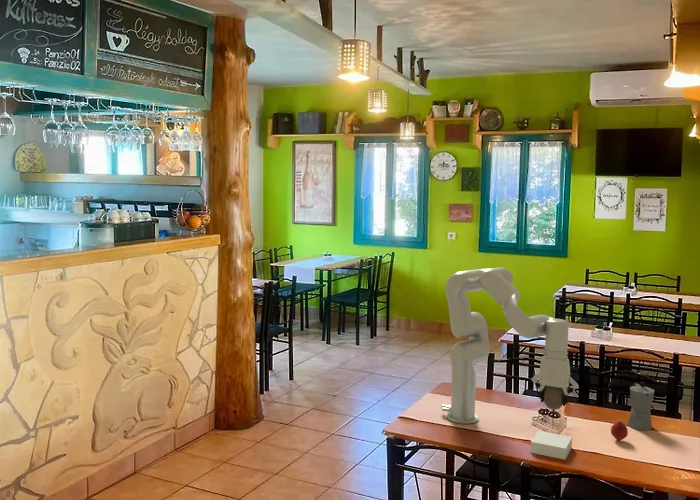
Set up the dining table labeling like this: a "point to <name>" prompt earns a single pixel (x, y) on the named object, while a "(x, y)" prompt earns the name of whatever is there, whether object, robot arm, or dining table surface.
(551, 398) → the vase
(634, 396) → the coffeepot
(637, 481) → the dining table surface
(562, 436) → the grey block
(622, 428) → the onion
